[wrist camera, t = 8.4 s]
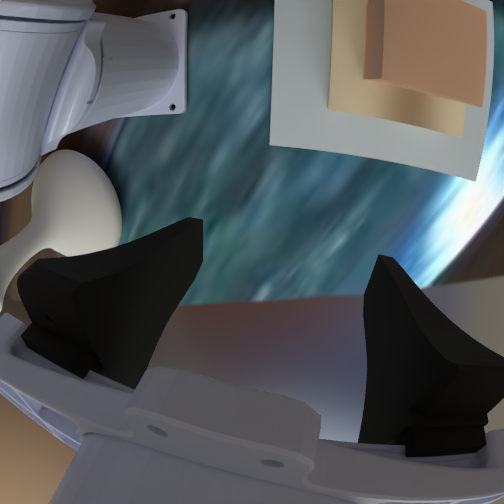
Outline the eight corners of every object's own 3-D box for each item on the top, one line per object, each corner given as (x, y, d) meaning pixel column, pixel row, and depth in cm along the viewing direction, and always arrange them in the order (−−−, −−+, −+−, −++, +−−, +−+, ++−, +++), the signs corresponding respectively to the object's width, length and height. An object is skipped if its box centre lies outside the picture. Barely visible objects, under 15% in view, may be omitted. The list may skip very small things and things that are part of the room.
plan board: (271, 142, 20) (269, 145, 19) (277, -43, 12) (275, -47, 12) (471, 177, 17) (475, 181, 17) (487, 3, 10) (492, 2, 9)
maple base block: (326, 106, 17) (328, 110, 15) (331, -9, 13) (333, -23, 10) (443, 129, 16) (461, 138, 13) (451, 19, 11) (470, 12, 9)
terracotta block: (363, 79, 13) (381, 78, 9) (366, 4, 11) (383, -24, 7) (440, 97, 12) (482, 107, 8) (444, 24, 10) (486, 11, 6)
